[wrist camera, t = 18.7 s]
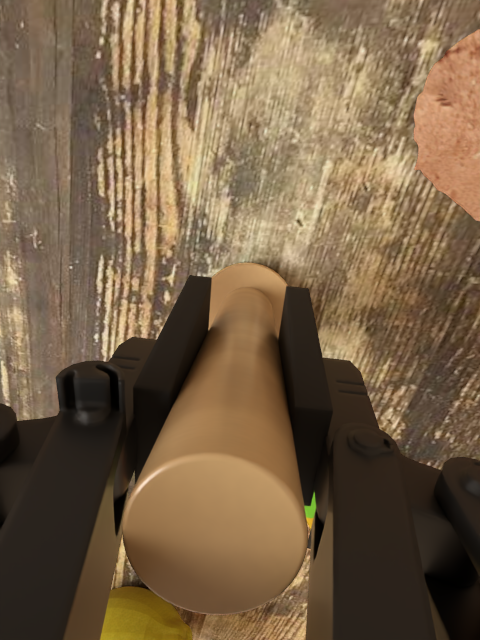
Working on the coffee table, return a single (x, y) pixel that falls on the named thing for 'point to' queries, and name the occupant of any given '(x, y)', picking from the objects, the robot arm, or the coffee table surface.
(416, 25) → the coffee table surface
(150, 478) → the stick
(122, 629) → the lemon
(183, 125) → the coffee table surface
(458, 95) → the clay slab
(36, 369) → the coffee table surface
